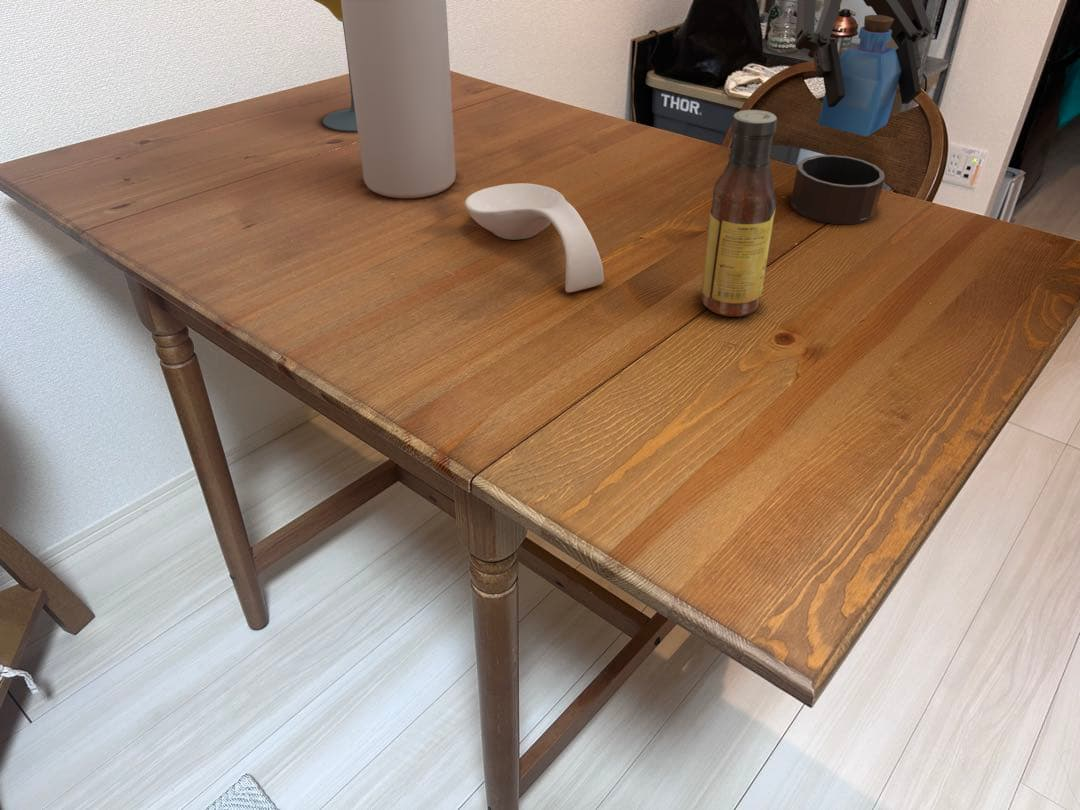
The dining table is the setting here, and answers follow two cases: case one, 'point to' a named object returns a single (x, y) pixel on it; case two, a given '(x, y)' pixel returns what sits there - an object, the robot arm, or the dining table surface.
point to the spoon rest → (539, 225)
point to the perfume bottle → (866, 81)
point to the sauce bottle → (741, 219)
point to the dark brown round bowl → (836, 189)
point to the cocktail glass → (347, 117)
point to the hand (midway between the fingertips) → (874, 99)
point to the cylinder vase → (401, 94)
